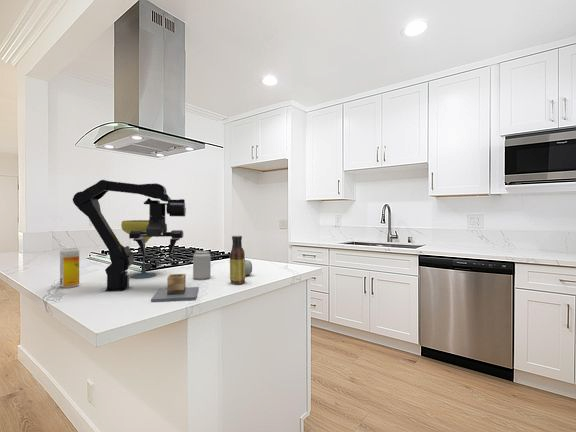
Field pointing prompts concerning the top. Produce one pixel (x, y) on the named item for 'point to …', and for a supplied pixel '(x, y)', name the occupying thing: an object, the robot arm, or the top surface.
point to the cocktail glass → (141, 225)
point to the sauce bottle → (237, 261)
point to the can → (201, 265)
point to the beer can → (69, 267)
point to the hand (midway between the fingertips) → (157, 256)
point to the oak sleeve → (176, 284)
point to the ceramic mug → (248, 267)
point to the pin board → (162, 295)
